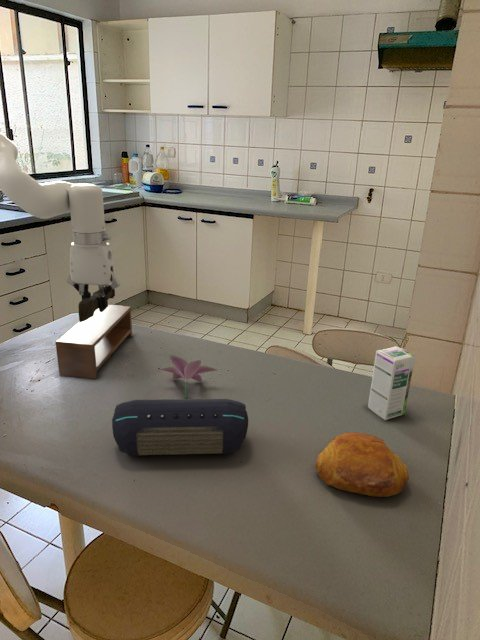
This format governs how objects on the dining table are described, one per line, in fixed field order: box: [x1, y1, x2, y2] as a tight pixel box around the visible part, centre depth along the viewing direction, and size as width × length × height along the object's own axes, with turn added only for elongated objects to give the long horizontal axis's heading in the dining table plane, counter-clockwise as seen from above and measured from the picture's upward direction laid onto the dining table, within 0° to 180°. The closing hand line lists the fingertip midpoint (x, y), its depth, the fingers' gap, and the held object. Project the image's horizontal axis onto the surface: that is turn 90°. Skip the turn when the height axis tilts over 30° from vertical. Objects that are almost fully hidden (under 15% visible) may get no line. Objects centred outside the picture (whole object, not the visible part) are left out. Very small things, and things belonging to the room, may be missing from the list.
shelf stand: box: [54, 304, 133, 380], centre depth 121 cm, size 9×26×9 cm, turn 173°
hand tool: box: [78, 284, 116, 322], centre depth 117 cm, size 19×4×5 cm, turn 172°
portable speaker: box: [111, 398, 249, 456], centre depth 86 cm, size 25×10×10 cm, turn 95°
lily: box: [159, 354, 218, 399], centre depth 106 cm, size 12×12×10 cm
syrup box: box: [367, 345, 416, 421], centre depth 100 cm, size 6×6×14 cm
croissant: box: [314, 431, 410, 498], centre depth 82 cm, size 14×16×8 cm
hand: (95, 308), depth 118 cm, fingers closed on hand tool, 3 cm apart
